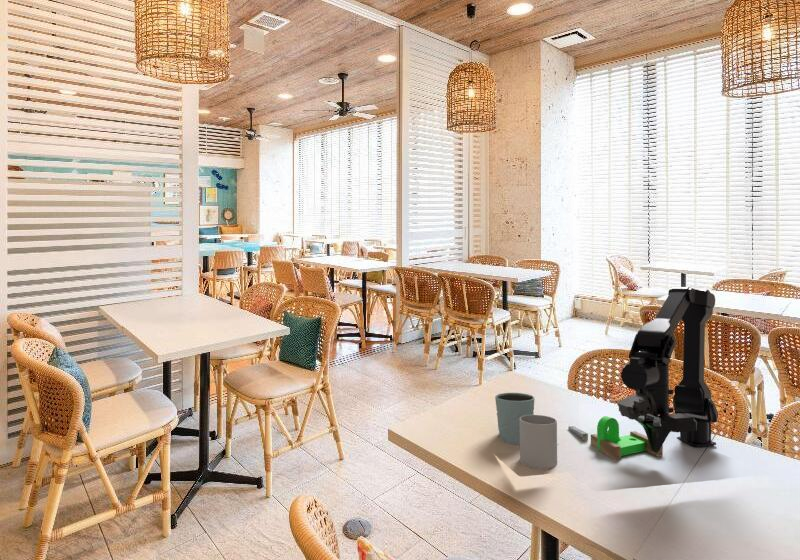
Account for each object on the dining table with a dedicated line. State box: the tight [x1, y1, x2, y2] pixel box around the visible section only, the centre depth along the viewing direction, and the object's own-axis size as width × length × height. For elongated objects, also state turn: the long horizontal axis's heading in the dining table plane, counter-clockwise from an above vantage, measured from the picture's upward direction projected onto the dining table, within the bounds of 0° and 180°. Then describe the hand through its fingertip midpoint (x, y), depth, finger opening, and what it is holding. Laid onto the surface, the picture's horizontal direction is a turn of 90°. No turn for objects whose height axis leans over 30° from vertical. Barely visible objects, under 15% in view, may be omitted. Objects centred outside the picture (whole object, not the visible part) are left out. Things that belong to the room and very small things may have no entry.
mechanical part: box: [596, 415, 646, 457], centre depth 124 cm, size 12×6×8 cm, turn 117°
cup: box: [519, 414, 558, 470], centre depth 116 cm, size 8×8×10 cm
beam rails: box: [590, 430, 664, 461], centre depth 124 cm, size 13×10×3 cm
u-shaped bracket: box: [567, 425, 589, 442], centre depth 132 cm, size 12×8×3 cm, turn 102°
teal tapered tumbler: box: [494, 392, 535, 446], centre depth 131 cm, size 10×10×12 cm
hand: (655, 451), depth 114 cm, fingers closed
